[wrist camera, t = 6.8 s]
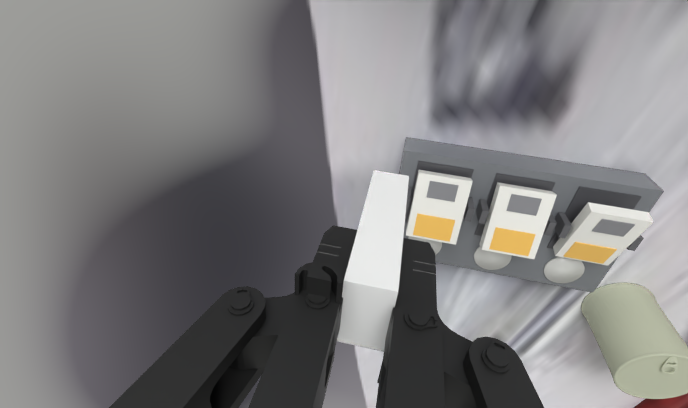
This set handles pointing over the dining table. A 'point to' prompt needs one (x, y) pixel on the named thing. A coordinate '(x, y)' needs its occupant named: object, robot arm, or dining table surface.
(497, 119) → the dining table surface
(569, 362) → the dining table surface
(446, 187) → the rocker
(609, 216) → the rocker
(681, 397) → the hardcover book
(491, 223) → the rocker middle
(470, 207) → the rocker switch panel
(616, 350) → the can
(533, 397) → the robot arm
